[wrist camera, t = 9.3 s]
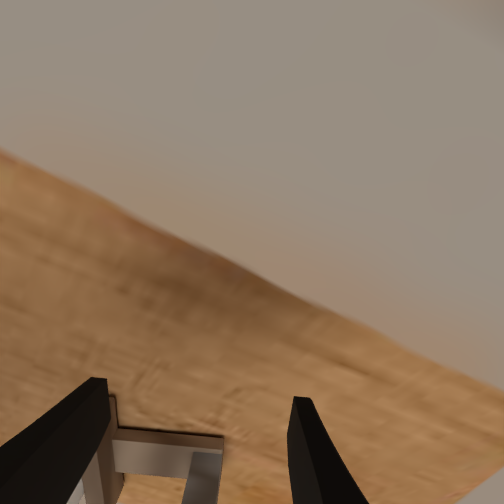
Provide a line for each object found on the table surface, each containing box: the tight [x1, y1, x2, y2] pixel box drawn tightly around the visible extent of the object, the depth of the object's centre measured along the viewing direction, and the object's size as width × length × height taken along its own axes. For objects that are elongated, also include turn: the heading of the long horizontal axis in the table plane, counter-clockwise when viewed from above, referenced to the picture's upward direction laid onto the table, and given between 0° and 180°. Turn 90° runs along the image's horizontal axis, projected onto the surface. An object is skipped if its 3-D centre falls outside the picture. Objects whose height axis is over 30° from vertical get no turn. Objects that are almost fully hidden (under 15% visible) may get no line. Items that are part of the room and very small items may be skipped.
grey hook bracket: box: [82, 397, 224, 504], centre depth 23 cm, size 11×11×5 cm
